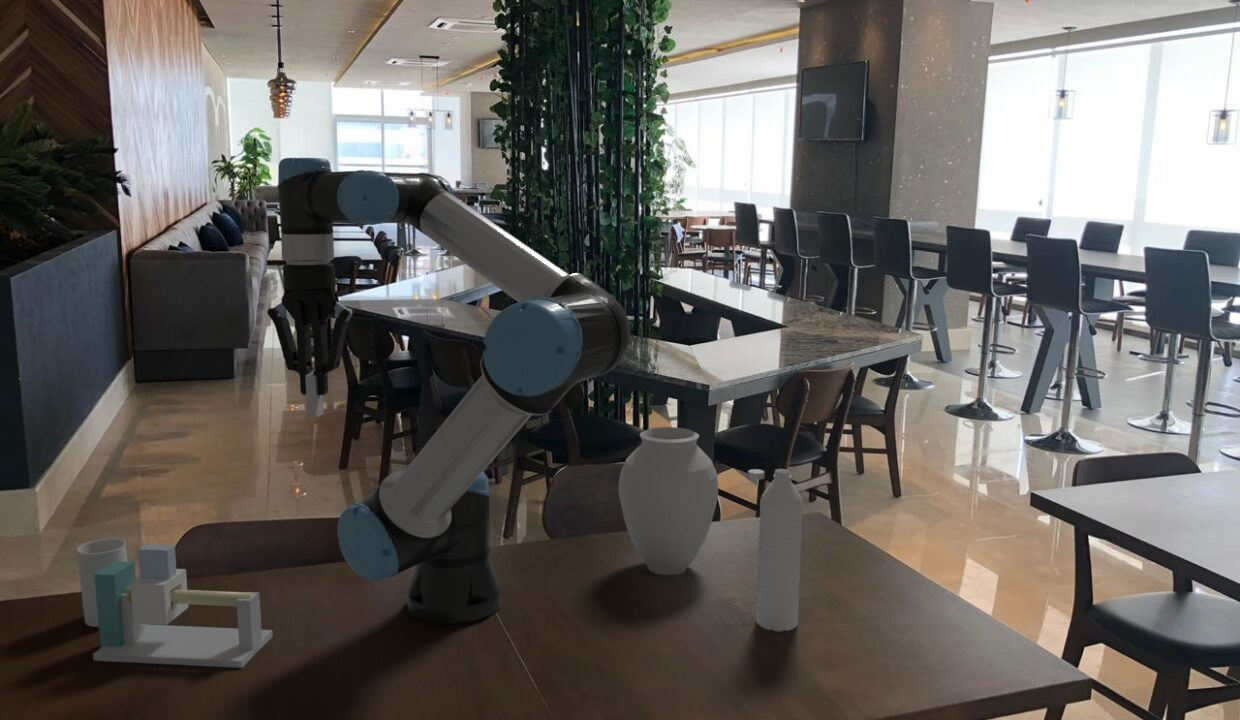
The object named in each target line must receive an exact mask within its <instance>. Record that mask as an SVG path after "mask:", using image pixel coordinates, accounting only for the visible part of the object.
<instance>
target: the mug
mask: <svg viewBox="0 0 1240 720" xmlns="http://www.w3.org/2000/svg"><path fill="white" fill-rule="evenodd" d="M126 544H127V543H126V541H125V540H123V539H120V538H104V539H97V540H93V541H89V542H85V543H83V544H81V545H79V546H78V547H77V548H76V552H77V555H76V556H77V565H78V566H77V567H78V573H79V574H78V575H79V582H80V583H79V584H80V590H81V600H82V609H83V617H84V623H85V625H86V626H88V627H92V628H93V627H94V628H99V623H98V612H97V600H96V588H95V577H94V574H95V573H97V572H99V571H100V570H102V569H103V568H105V567H107V566H108V565H110V564H112V563H113V562H115V561H118V562H128V556H127V545H126Z"/></svg>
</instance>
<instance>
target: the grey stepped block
mask: <svg viewBox="0 0 1240 720" xmlns="http://www.w3.org/2000/svg"><path fill="white" fill-rule="evenodd" d="M175 546H176V545H171V544H170V545H169V544H168V545H167V544H166V545H163V544H144V545H143V546H142V547H140V548H139V547H138V549H137V552H138V553H137V554H138V555H137V557H138V567H139V577H138V578H137V579H136V580H135V581H134V582H132V583H131V584H130V587H131V599H132V612H133V623H139V624H147V625H169V624H170V623H171V622H172V621H173V620H175V619H176V618H177V617H179V615H181V614H182V613H183V612H184V611H186V610H187V609H189V604H174V603H171V595H170V591H171V590H172V589H178V590H188V581H187V569H186V568H177V559H176V547H175Z"/></svg>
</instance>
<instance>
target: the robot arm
mask: <svg viewBox="0 0 1240 720" xmlns="http://www.w3.org/2000/svg"><path fill="white" fill-rule="evenodd" d="M277 171H278V173H277V174H278V177H277V179H278V181H277V184H276V185H277V190H278V201H279V203H278V204H279V222H280V233H281V234H280V235H281V236H280V237H281V238H280V239H281V241H280V242H281V259H282V260H283V261H284V262H286V263H285V264H283V266H282V280H283V282H282V283H283V290H284V291H283V294H282V296H281V302H280V303H278V304H277V305H276V306H274V307H270V308H268V309H267V313H266V314H267V315H268V317H269V318H270V319H271V321H272V323H273V324H274V327H275V330H276V334H277V338H278V341H279V345H280V348H281V352H282V355H283V359H284V363H285V366H286V368H287V370H288V371H294V372H296V373H298V375H299V380H300V381H299V383H300V385H299V386H300V387H299V388H300V393H301V395H303V396H304V395H306V396H305V397H306V417H307V418H319V417H320V416H321V415H323V414H324V396H325V395H326V394H328V392H329V382H328V380H329V379H328V377H329V376H328V374H329V372H331V371H334V370H337V369H339V367H340V365H341V359H342V354H343V350H344V345H345V340H346V335H347V330H348V325H349V323H350V321H351V319H352V317H353V316H354V314H355V310H354V309H353V308H352V307H346V306H345V305H343V304H342V303H340V299H339V297H338V295H337V293H336V267H335V265H334V263H331V261H333V260H334V259H335V247H334V246H335V244H334V243H335V241H334V225H333V224H345V225H346V224H347V225H358V226H359V225H360V226H376V225H381V224H407V225H410V226H411V227H413V228H414V229H416V230H417V231H418V232H420V233H421V234H423V235H425V236H426V237H428V238H429V239H430V240H431V241H433V242H435V243H436V244H437V245H439V246H440V247H442V248H443V249H445V250H446V251H447V252H449V253H450V254H451V255H452V256H454V257H455V258H456V259H458V260H459V261H461V262H462V263H464V265H466V266H468V267H469V268H470V269H472V270H473V271H475V272H476V273H477V274H478V275H480V276H481V277H483V278H484V279H485V280H487V281H489V282H490V283H491V284H493V285H494V286H496V287H497V288H498V289H500V290H501V291H502V292H503V293H505V294H506V295H508V296H509V297H511V298H512V299H513V300H515V301H516V303H513V304H511V305H509V306H507V307H505V308H504V309H502V310H501V311H500V312H499V313H497V315H496V316H495V317H494V318H493V319H492V321H491V322H490V324H489V325H488V327H487V329H486V331H485V335H484V337H483V338H484V339H483V344H484V345H485V349H484V350H483V352H482V354H483V355H482V356H481V359H480V371H481V376H480V377H479V378H478V379H477V380H476V382H474V384H473V386H471V388H470V389H469V391H468V392H467V393H466V394H465V396H464V397H463V398H462V399H461V400H460V402H459V403H458V404H457V406H455V408H454V409H453V410H452V411H451V413H450V414H449V415H448V416H447V417H446V419H445V420H444V421H443V423H442V424H441V425H440V426H439V427H438V429H437V430H436V431H435V432H434V434H433V435H432V436H431V437H430V439H429V440H428V441H427V442H426V444H425V445H423V447H422V448H421V450H420V451H419V452H418V454H416V456H415V457H414V458H413V460H412V461H411V462H410V464H409V465H408V466H407V468H405V469H404V470H401V471H395V472H392V473H391V474H389V475H388V476H386V477H385V478H384V479H383V480H382V482H380V484H379V486H377V488H376V489H375V490H374V492H373V493H372V494H371V495H370V496H369V497H368V498H367V499H366V500H364V501H362V502H356V503H352V505H350V506H348V507H347V508H345V509H344V510H343V512H342V513H341V514H340V517H339V519H338V522H337V530H336V531H337V532H336V533H337V538H338V545H339V549H340V551H341V553H342V554H341V555H342V556H343V558H344V560H345V561H346V563H347V565H348V566H349V567H350V568H351V570H352V571H353V572H355V574H357V575H358V576H359V577H360V578H363V579H364V580H368V581H371V582H380V581H383V580H386V579H391V578H394V577H395V576H397V575H398V574H400V573H402V572H404V571H406V570H409V569H411V568H413V567H415V569H414V572H413V574H412V575H413V576H412V578H411V582H410V586H409V587H408V592H407V610H408V613H409V614H410V615H411V616H412V617H414V618H415V619H417V620H419V621H423V622H426V623H430V624H431V623H432V624H441V625H453V624H454V625H455V624H464V623H472V622H475V621H479V620H482V619H485V618H487V617H489V616H491V615H493V614H495V612H496V611H498V610H499V609H500V607H501V605H502V588H501V584H500V583H499V582H500V581H499V580H498V576H497V573H496V570H495V568H494V566H493V563H492V559H491V554H490V553H491V550H490V549H491V546H490V545H491V541H490V539H491V538H490V537H491V535H490V533H491V532H490V529H491V528H490V527H491V526H490V525H491V524H490V523H491V522H490V516H491V515H490V513H491V512H490V497H491V493H490V487H489V485H490V484H489V478H488V476H487V474H486V473H485V470H486V469H487V467H488V466H490V464H491V463H492V462H493V461H494V460H495V459H496V457H497V456H498V455H499V454H500V452H501V451H502V450H503V449H504V448H505V447H506V446H507V444H508V443H509V442H510V441H511V440H512V439H513V438H514V436H515V435H517V433H518V432H519V431H520V430H521V428H522V427H523V426H524V425H525V424H526V422H527V421H528V420H529V419H530V418H531V417H532V416H544V415H547V414H549V413H550V412H551V411H552V410H554V408H555V407H556V406H557V405H558V403H559V402H560V401H561V400H562V398H564V396H565V395H566V394H567V393H568V392H569V391H570V390H571V389H572V388H573V387H574V386H575V385H577V384H578V383H580V382H583V381H586V380H587V381H588V380H590V379H593V378H597V377H600V376H603V375H605V374H607V373H609V372H611V371H612V370H614V369H615V368H616V367H617V366H618V365H619V364H620V363H621V362H622V360H624V357H625V355H626V354H627V351H628V349H629V347H630V346H629V345H630V342H631V341H630V340H631V326H630V322H629V318H628V316H627V313H626V311H625V309H624V308H623V306H622V305H621V304H620V302H619V301H617V299H616V298H615V297H614V296H613V295H612V294H610V293H609V292H608V291H606V290H605V289H604V288H602V287H601V286H600V285H599V284H598V283H596V282H594V281H593V280H591V279H589V278H588V277H586V276H585V275H584V274H581V273H580V272H575V273H571V274H570V273H568V272H567V271H565V270H564V269H563V268H560V267H559V266H557V265H556V264H555V263H553V262H552V261H550V260H549V259H547V258H546V257H544V256H543V255H542V254H540V253H539V252H537V251H536V250H534V249H533V248H531V247H529V246H528V245H527V244H525V243H524V242H522V241H521V240H520V239H518V238H517V237H515V236H514V235H512V234H511V233H510V232H508V231H506V230H505V229H503V228H502V227H500V226H499V225H497V224H496V223H494V222H493V221H492V220H490V219H489V218H487V217H486V216H484V215H483V214H481V213H480V212H478V211H476V210H475V209H474V208H472V207H471V206H469V205H468V204H467V203H465V202H464V201H462V200H460V198H458V197H456V196H455V191H454V189H453V187H452V186H451V184H450V182H449V181H448V180H447V179H446V178H445V177H443V176H441V175H437V174H431V173H427V172H425V173H424V172H418V173H415V172H414V173H413V172H412V173H410V172H408V173H406V172H404V173H403V172H382V171H375V170H370V169H369V170H366V169H365V170H364V169H361V170H360V169H359V170H349V171H347V170H346V171H345V170H344V171H332V168H331V163H330V161H329V160H328V159H327V158H323V157H322V158H319V157H318V158H317V157H285V158H282V159H281V160H280V161H279V163H278V170H277ZM334 311H335V313H334ZM288 313H289V315H290V317H291V318H292V319H293V320H294V329H295V331H296V343H295V339H294V338H295V337H294V335H293V332H292V328H291V325H290V321H289V319H288ZM333 313H334V317H335V321H334V325H333V331H332V336H331V340H330V343H329V344H330V346H329V347H328V332H327V330H328V328H329V325H328V324H329V323H328V322H329V321H328V320H329V319H330V317H331V316H332V314H333ZM311 331H312V336H311ZM312 339H313V354H312ZM328 348H329V349H328ZM312 355H313V356H312ZM312 357H313V358H314V359H313V358H312ZM313 361H314V367H313Z"/></svg>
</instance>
